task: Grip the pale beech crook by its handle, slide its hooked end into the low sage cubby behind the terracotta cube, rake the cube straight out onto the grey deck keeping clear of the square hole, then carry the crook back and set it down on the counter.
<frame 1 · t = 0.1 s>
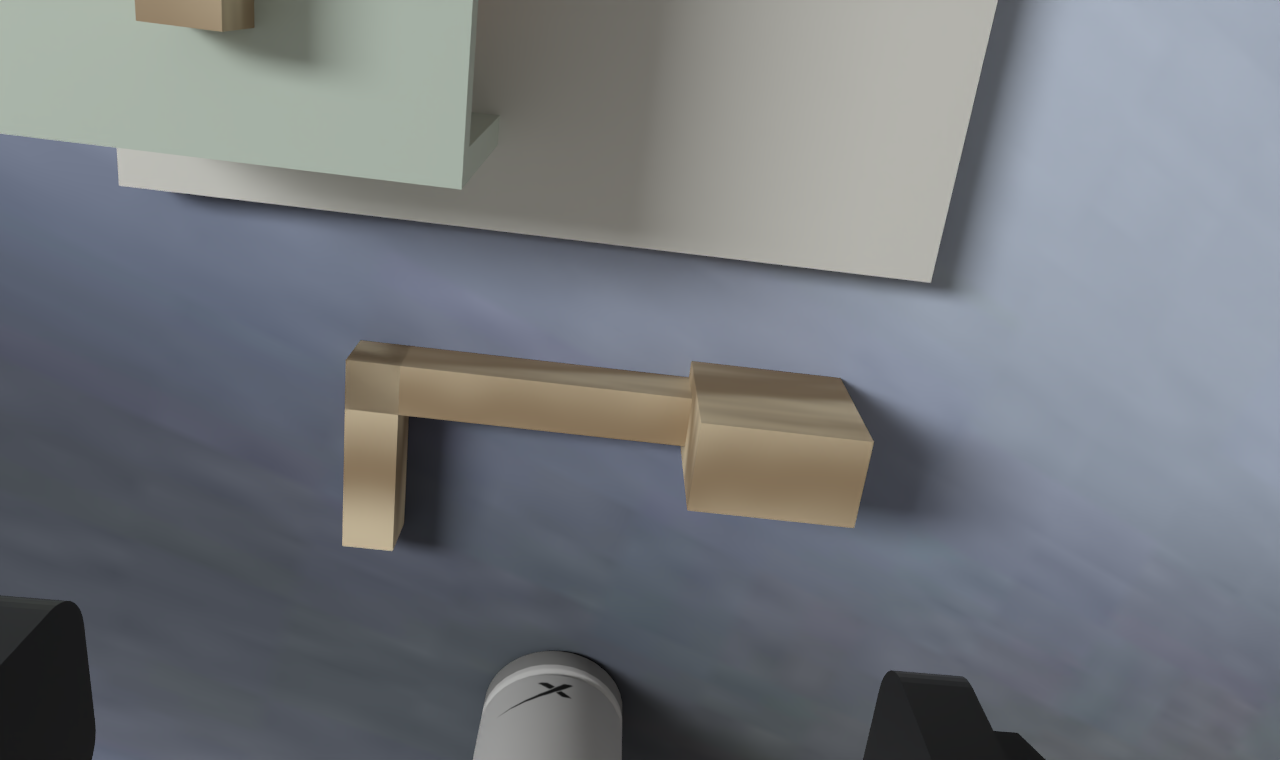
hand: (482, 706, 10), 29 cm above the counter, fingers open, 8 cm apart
crook: (759, 408, 41), on the counter
travel mug: (551, 699, 46), on the counter
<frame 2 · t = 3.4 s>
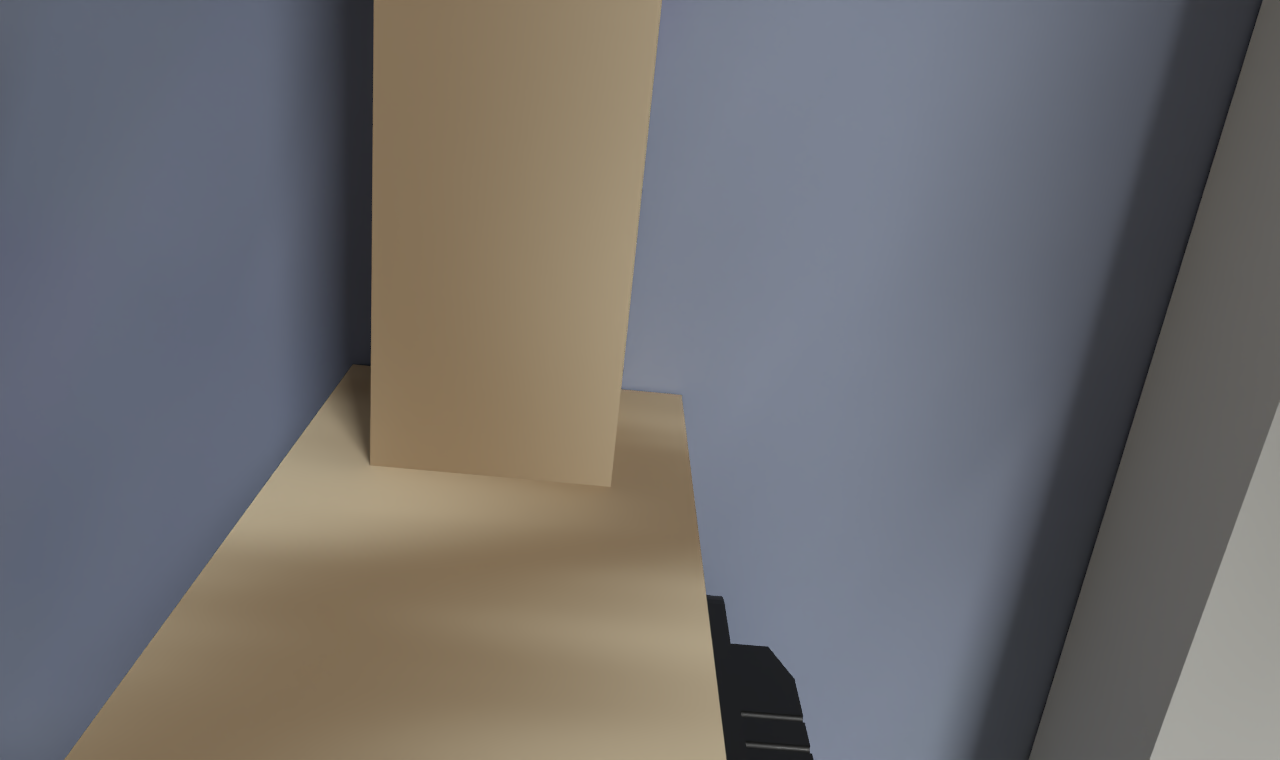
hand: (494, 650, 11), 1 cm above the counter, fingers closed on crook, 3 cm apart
crook: (502, 623, 12), on the counter, touching gripper
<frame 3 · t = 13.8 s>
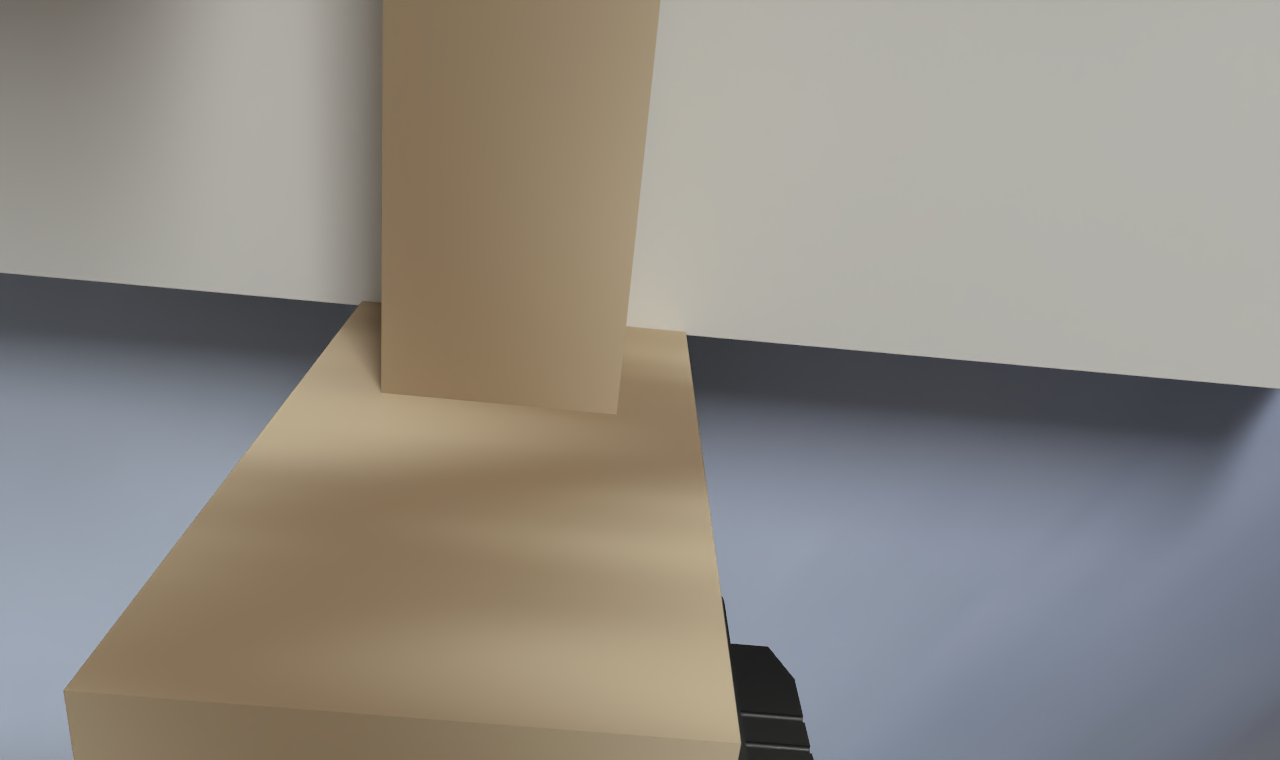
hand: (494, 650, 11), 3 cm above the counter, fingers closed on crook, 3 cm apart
crook: (509, 558, 12), point 2 cm above the counter, touching cube, deck, gripper
when the fingers open (2 cm above the counter, at t = 19.0 s): crook stays where it is, on the counter.
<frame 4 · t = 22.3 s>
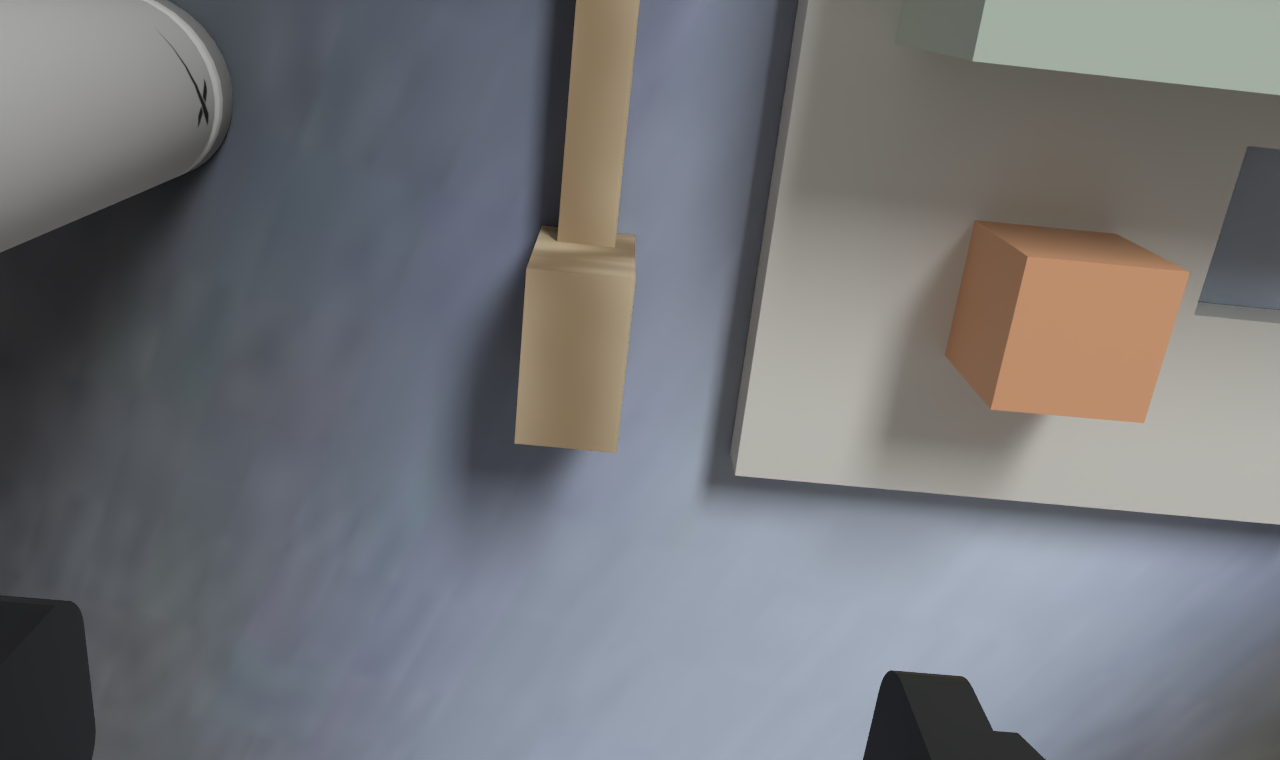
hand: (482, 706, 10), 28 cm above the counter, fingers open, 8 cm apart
crook: (581, 308, 38), on the counter
travel mug: (149, 82, 35), on the counter
cube: (1028, 296, 36), point 2 cm above the counter, touching deck
deck: (1112, 155, 36), on the counter
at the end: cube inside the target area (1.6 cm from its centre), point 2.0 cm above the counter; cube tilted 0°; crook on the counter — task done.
